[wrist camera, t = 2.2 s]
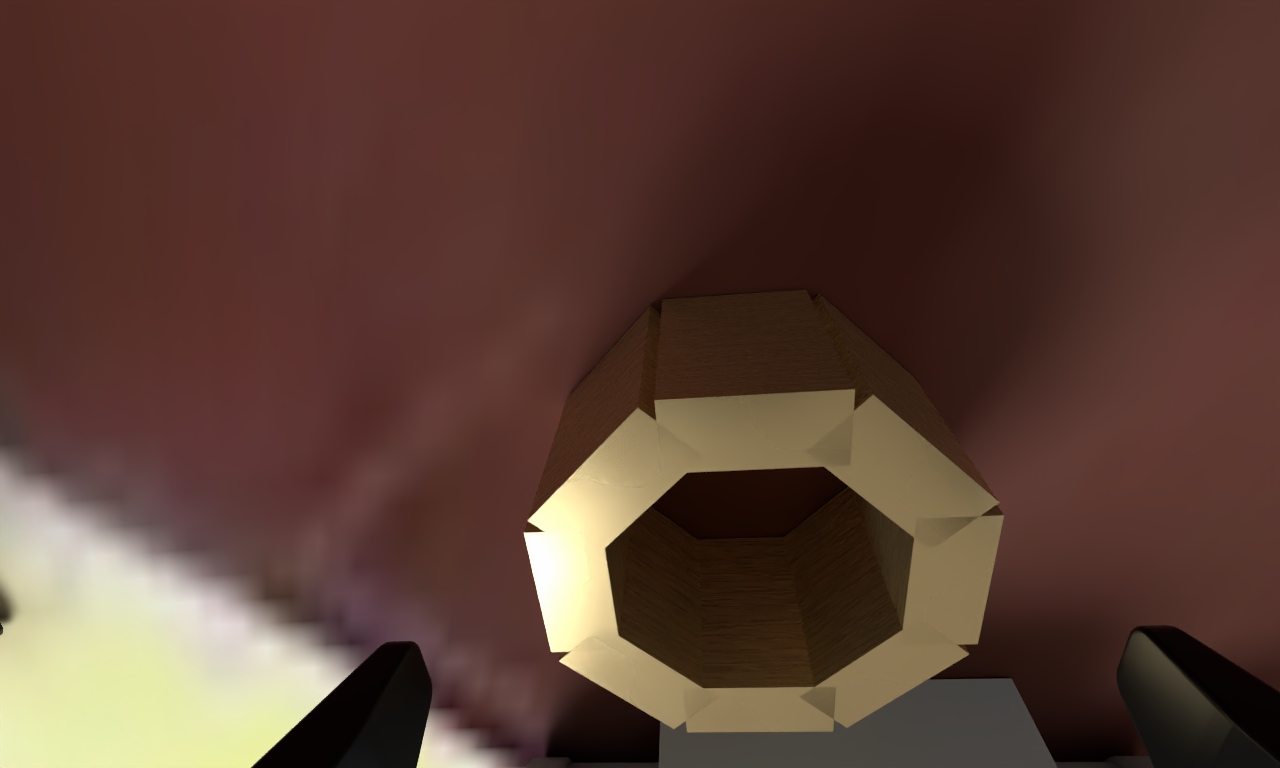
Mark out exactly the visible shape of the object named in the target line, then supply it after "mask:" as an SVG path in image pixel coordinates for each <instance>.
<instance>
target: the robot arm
mask: <svg viewBox="0 0 1280 768" xmlns="http://www.w3.org/2000/svg"><path fill="white" fill-rule="evenodd" d="M2 633H3V627H2V625H1V623H0V635H1V634H2ZM1117 684H1118V688H1119V691H1120V693H1121V696H1122V698H1123V700H1124V703H1125V705H1126V707H1127V709H1128V711H1129V714H1130V716H1131V718H1132V720H1133V723H1134V725H1135V727H1136V729H1137V732H1138V734H1139V736H1140V738H1141V740H1142V743H1143V745H1144V747H1145V749H1146V752H1147V754H1148V756H1149V758H1150V761H1151V763H1152V765H1153V767H1154V768H1280V692H1279V691H1277V690H1276V689H1274V688H1273V687H1271V686H1269V685H1268V684H1266V683H1265V682H1263V681H1261V680H1260V679H1258V678H1257V677H1255V676H1254V675H1252V674H1250V673H1249V672H1247V671H1246V670H1244V669H1242V668H1241V667H1239V666H1238V665H1236V664H1235V663H1233V662H1231V661H1230V660H1228V659H1227V658H1225V657H1224V656H1222V655H1220V654H1219V653H1217V652H1216V651H1214V650H1212V649H1211V648H1209V647H1208V646H1206V645H1205V644H1203V643H1201V642H1200V641H1198V640H1197V639H1195V638H1193V637H1192V636H1190V635H1189V634H1187V633H1186V632H1184V631H1182V630H1180V629H1178V628H1176V627H1173V626H1166V625H1160V626H1138V627H1136V628H1134V629H1133V630H1132V631H1131V633H1130V635H1129V638H1128V640H1127V643H1126V646H1125V649H1124V652H1123V654H1122V657H1121V660H1120V663H1119V666H1118V669H1117ZM431 699H432V682H431V679H430V676H429V673H428V670H427V667H426V665H425V662H424V659H423V656H422V654H421V651H420V648H419V646H418V645H417V644H416V643H415V642H412V641H399V642H387V643H385V644H383V645H381V646H380V647H379V648H378V649H377V650H376V651H374V652H373V653H372V654H371V655H370V656H369V657H368V658H367V659H366V660H365V661H364V662H363V663H362V664H361V665H360V666H359V667H357V668H356V669H355V670H354V671H353V672H352V673H351V674H350V675H349V676H348V677H347V678H346V679H345V680H344V681H343V682H341V683H340V684H339V685H338V686H337V687H336V688H335V689H334V690H333V691H332V692H331V693H330V694H329V695H328V696H327V697H326V698H324V699H323V700H322V701H321V702H320V703H319V704H318V705H317V706H316V707H315V708H314V709H313V710H312V711H311V712H310V713H308V714H307V715H306V716H305V717H304V718H303V719H302V720H301V721H300V722H299V723H298V724H297V725H296V726H295V727H294V728H293V729H291V730H290V731H289V732H288V733H287V734H286V735H285V736H284V737H283V738H282V739H281V740H280V741H279V742H278V743H277V744H275V745H274V746H273V747H272V748H271V749H270V750H269V751H268V752H267V753H266V754H265V755H264V756H263V757H262V758H261V759H260V760H258V761H257V762H256V763H255V764H254V765H253V766H252V767H251V768H416V767H417V763H418V758H419V754H420V749H421V745H422V740H423V736H424V731H425V727H426V722H427V718H428V713H429V709H430V704H431Z"/></svg>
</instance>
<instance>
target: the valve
mask: <svg viewBox="0 0 1280 768" xmlns="http://www.w3.org/2000/svg"><path fill="white" fill-rule="evenodd" d="M526 768H1154V767H1153V765H1152V763H1151V761H1150V758H1149V756H1113V757H1110V758H1108V759H1107V760H1105V761H1104V762H1054V760H1053V758H1052V756H1051V754H1050V752H1049V750H1048V748H1047V746H1046V745H1045V743H1044V741H1043V739H1042V737H1041V735H1040V733H1039V731H1038V729H1037V727H1036V725H1035V723H1034V721H1033V719H1032V717H1031V715H1030V713H1029V711H1028V709H1027V708H1026V706H1025V704H1024V702H1023V700H1022V698H1021V696H1020V694H1019V692H1018V690H1017V688H1016V686H1015V684H1014V682H1013V680H1012V678H1008V679H934V680H926V681H924V682H923V683H921V684H919V685H918V686H916V687H914V688H913V689H911V690H909V691H908V692H906V693H904V694H903V695H901V696H899V697H898V698H896V699H894V700H893V701H891V702H889V703H888V704H886V705H884V706H883V707H881V708H879V709H878V710H876V711H874V712H873V713H871V714H869V715H868V716H866V717H864V718H863V719H861V720H859V721H858V722H856V723H854V724H853V725H851V726H849V727H848V728H846V727H845V726H843V725H842V724H840V723H838V722H837V721H835V720H834V728H833V732H687V727H686V721H685V722H683V723H682V724H681V725H679V726H678V727H676V728H675V729H673V728H671V727H669V726H668V725H666V724H664V723H663V722H661V721H660V744H659V763H572V761H571V759H570V758H568V757H536V758H533V759H532V760H531V761H530V762H529V763H528V765H527V767H526Z"/></svg>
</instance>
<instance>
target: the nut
mask: <svg viewBox="0 0 1280 768" xmlns="http://www.w3.org/2000/svg"><path fill="white" fill-rule="evenodd" d="M802 467H825V468H826V469H827V470H829V471H830V472H831V473H833V474H834V475H835V476H836V477H838V478H839V479H840V480H841V481H843V482H844V483H845V484H847V485H848V487H846V488H845V489H844V490H843V491H841V492H840V493H839V494H837V495H836V496H835V497H834V498H832V499H831V500H830V501H829V502H827V503H826V504H825V505H824V506H822V507H821V508H820V509H819V510H817V511H816V512H815V513H814V514H812V515H811V516H810V517H808V518H807V519H806V520H805V521H803V522H802V523H801V524H800V525H798V526H797V527H796V528H795V529H793V530H792V531H791V532H790V533H788V534H787V535H786V536H785V537H763V538H734V539H705V540H698V539H697V538H696V537H694V536H693V535H691V534H690V533H688V532H687V531H686V530H684V529H683V528H681V527H680V526H678V525H677V524H676V523H674V522H673V521H671V520H670V519H668V518H667V517H666V516H664V515H663V514H661V513H660V512H658V511H657V510H656V509H654V508H653V507H651V505H652V504H653V503H655V502H656V501H657V500H658V499H659V498H660V497H661V496H662V495H663V494H664V493H665V492H666V491H668V490H669V489H670V488H671V487H672V486H673V485H674V484H675V483H676V482H677V481H678V480H679V479H681V478H682V477H683V476H684V475H685V474H686V473H690V472H713V471H735V470H758V469H780V468H802ZM998 503H1000V502H999V501H998V499H997V498H996V496H995V495H994V494H993V492H992V491H991V489H990V488H989V486H988V485H987V483H986V482H985V480H984V479H983V477H982V476H981V474H980V473H979V472H978V470H977V469H976V467H975V466H974V464H973V463H972V461H971V460H970V458H969V457H968V455H967V454H966V453H965V451H964V450H963V448H962V447H961V445H960V444H959V442H958V441H957V439H956V438H955V436H954V435H953V433H952V432H951V431H950V429H949V428H948V426H947V425H946V423H945V422H944V420H943V419H942V417H941V416H940V414H939V413H938V412H937V410H936V409H935V407H934V406H933V404H932V403H931V401H930V400H929V398H928V397H927V395H926V394H925V392H924V391H923V390H922V388H921V387H920V385H919V384H918V382H917V381H916V379H915V378H914V377H913V376H912V375H911V374H910V373H908V372H907V371H906V370H905V369H904V368H903V367H902V366H901V365H899V364H898V363H897V362H896V361H895V360H894V359H893V358H892V357H890V356H889V355H888V354H887V353H886V352H885V351H884V350H882V349H881V348H880V347H879V346H878V345H877V344H876V343H875V342H873V341H872V340H871V339H870V338H869V337H868V336H867V335H866V334H864V333H863V332H862V331H861V330H860V329H859V328H858V327H856V326H855V325H854V324H853V323H852V322H851V321H850V320H849V319H847V318H846V317H845V316H844V315H843V314H842V313H841V312H840V311H838V310H837V309H836V308H835V307H834V306H833V305H832V304H830V303H829V302H828V301H827V300H826V299H825V298H824V297H823V296H821V295H820V294H818V295H817V296H816V297H815V298H814V299H813V300H811V298H810V296H809V294H808V292H807V290H806V289H805V290H791V291H776V292H762V293H748V294H734V295H720V296H705V297H691V298H677V299H663V300H662V311H661V313H659V312H658V311H657V310H656V309H654V308H653V307H652V306H651V305H650V306H649V307H648V308H647V310H646V311H645V312H644V313H643V314H642V315H641V316H640V317H639V318H638V320H637V321H636V322H635V323H634V324H633V325H632V326H631V327H630V328H629V330H628V331H627V332H626V333H625V334H624V335H623V336H622V337H621V338H620V340H619V341H618V342H617V343H616V344H615V345H614V346H613V347H612V348H611V350H610V351H609V352H608V353H607V354H606V355H605V356H604V357H603V358H602V360H601V361H600V362H599V363H598V364H597V365H596V366H595V367H594V368H593V370H592V371H591V372H590V373H589V374H588V375H587V376H586V377H585V378H584V380H583V381H582V382H581V383H580V384H579V385H578V386H577V387H576V388H575V390H574V391H573V392H572V393H571V394H570V395H569V396H568V397H567V400H566V403H565V406H564V409H563V412H562V415H561V419H560V422H559V425H558V428H557V431H556V434H555V437H554V440H553V443H552V446H551V449H550V453H549V456H548V459H547V462H546V465H545V468H544V471H543V474H542V477H541V480H540V483H539V487H538V490H537V493H536V496H535V499H534V502H533V505H532V508H531V511H530V514H529V518H528V522H527V525H526V528H525V531H524V535H525V540H526V544H527V548H528V553H529V557H530V561H531V566H532V570H533V574H534V579H535V583H536V588H537V592H538V596H539V601H540V605H541V609H542V614H543V618H544V622H545V627H546V631H547V636H548V640H549V644H550V649H551V652H561V653H560V658H559V662H561V663H563V664H564V665H566V666H568V667H569V668H571V669H573V670H575V671H576V672H578V673H580V674H581V675H583V676H585V677H586V678H588V679H590V680H591V681H593V682H595V683H597V684H598V685H600V686H602V687H603V688H605V689H607V690H608V691H610V692H612V693H613V694H615V695H617V696H619V697H620V698H622V699H624V700H625V701H627V702H629V703H630V704H632V705H634V706H636V707H637V708H639V709H641V710H642V711H644V712H646V713H647V714H649V715H651V716H652V717H654V718H656V719H658V720H659V721H661V722H663V723H664V724H666V725H668V726H669V727H671V728H673V729H675V728H676V727H678V726H679V725H681V724H682V723H683V722H685V721H686V727H687V732H833V728H834V720H835V721H837V722H838V723H840V724H842V725H843V726H845V727H846V728H848V727H849V726H851V725H853V724H854V723H856V722H858V721H859V720H861V719H863V718H864V717H866V716H868V715H869V714H871V713H873V712H874V711H876V710H878V709H879V708H881V707H883V706H884V705H886V704H888V703H889V702H891V701H893V700H894V699H896V698H898V697H899V696H901V695H903V694H904V693H906V692H908V691H909V690H911V689H913V688H914V687H916V686H918V685H919V684H921V683H923V682H924V681H926V680H928V679H929V678H931V677H933V676H934V675H936V674H938V673H939V672H941V671H943V670H944V669H946V668H948V667H949V666H951V665H953V664H954V663H956V662H958V661H959V660H961V659H963V658H964V657H966V656H968V655H969V652H968V650H967V648H966V646H965V644H978V641H979V636H980V631H981V626H982V621H983V616H984V611H985V607H986V602H987V597H988V592H989V587H990V582H991V577H992V572H993V567H994V563H995V558H996V553H997V548H998V543H999V538H1000V533H1001V528H1002V523H1003V519H1004V514H1003V513H1002V511H1001V510H1000V508H999V507H998V506H997V504H998Z"/></svg>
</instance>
